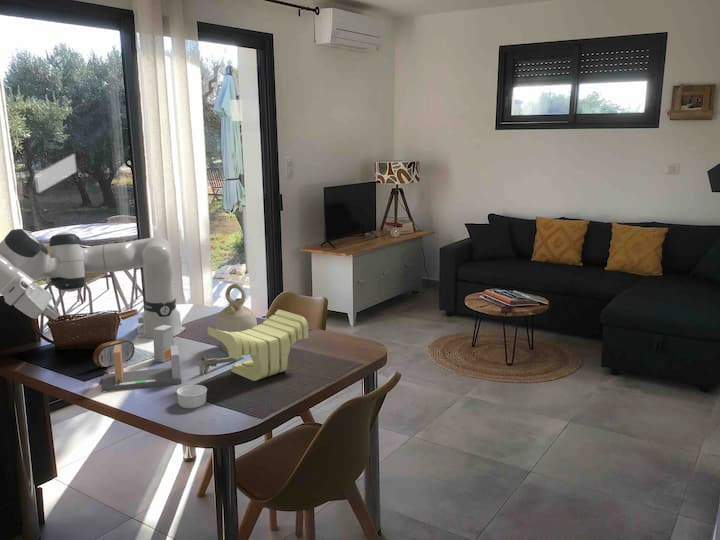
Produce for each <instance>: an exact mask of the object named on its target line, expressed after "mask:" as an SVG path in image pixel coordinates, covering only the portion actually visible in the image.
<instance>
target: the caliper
mask: <svg viewBox="0 0 720 540" xmlns="http://www.w3.org/2000/svg"><path fill="white" fill-rule="evenodd" d="M242 360H244V356H242V357H241V358H239V359H238V360H237V359H234V358H232V357H229V356H228V357H223V358H222V357H221V358H216V357H215V358H208V357H207V356H204V357H203V356H202V357H201V359H200V361H199V366H198V367H199V368H198V369H199V375H202V376H203V375H204V374H205V375H208V371H209V369H210V367H217V366H218V364H224V363H225V364H226V363H232V362H238V361H242Z"/></svg>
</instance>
